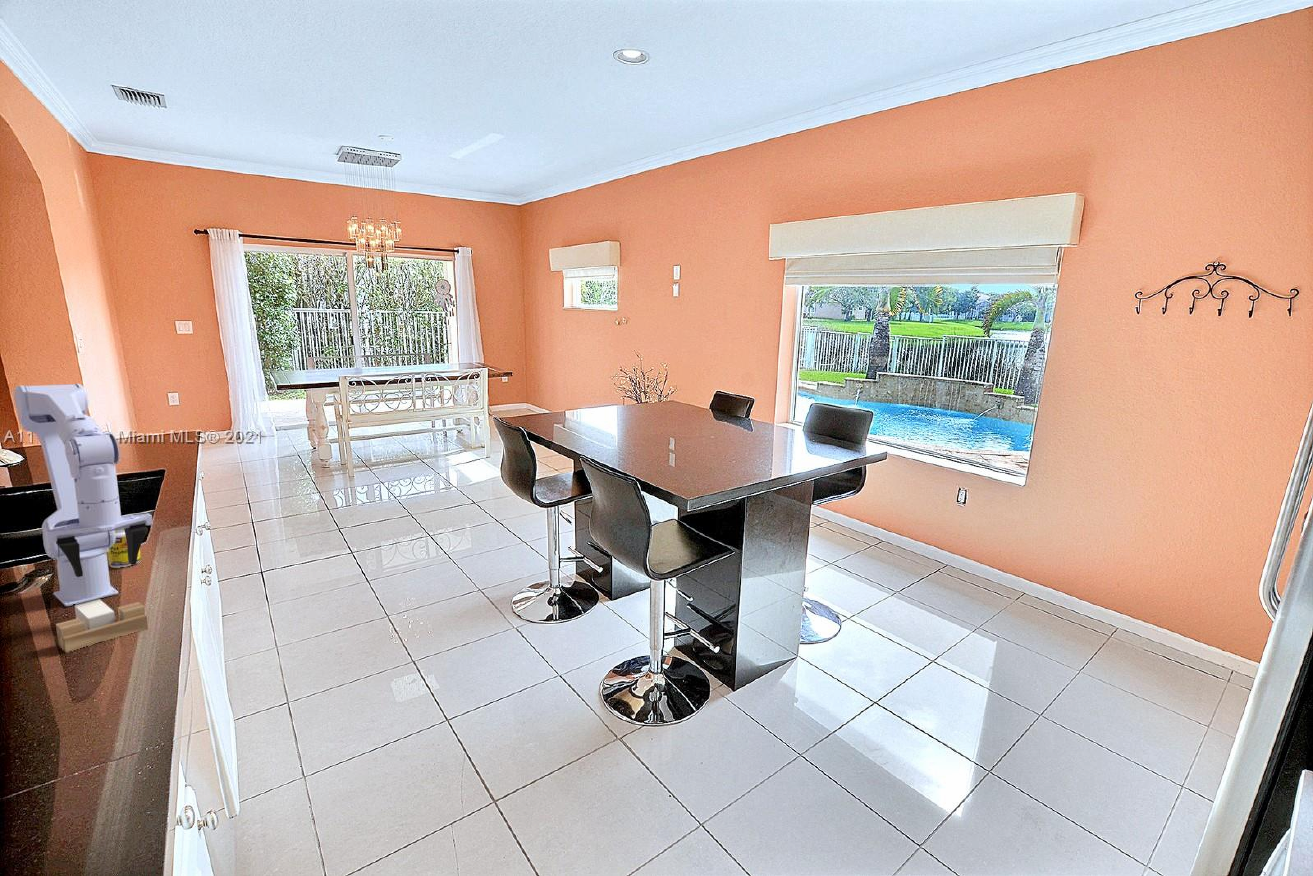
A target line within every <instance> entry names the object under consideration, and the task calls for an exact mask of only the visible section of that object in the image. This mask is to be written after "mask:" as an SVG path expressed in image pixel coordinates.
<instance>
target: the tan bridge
mask: <svg viewBox="0 0 1313 876" xmlns="http://www.w3.org/2000/svg"><path fill="white" fill-rule="evenodd" d="M117 612H118V613H117V614H118V621H116V622H115V623H111V624H108V625H104V626H101V627H97V628H94V629H90V630H87V631H85V623H84V622H83V621H82V620H81V619H80V618H77V619H76V618H74V619H70V620H67V621H61V622H59V623H55V626H56V627H55V628H56V635H57V642H58V646H59V647H60V649H61V648H62V649H61V650H62V651H63V652H65V654H69V653H71V652H70V651H72V652H75V651H78V650H81V649H80V648H82V649H84V648H83V647H85V648H87V647H86V646H88V647H91V645H92V646H94V645H93V644H95V643H98V642H101V641H105V642H108V641H110V639H112V640H115V639H117V637H118V638H120V637H119V636H122V637H124V636H128V634H129V635H132V634H135V633H138V632H141V631H145V630H149V629H148V628H149V627H148V617H147V615H146V613H145V605H143V604H142V603H140V602H133V603H129V604H126V605H122V606H119V607H117ZM134 632H135V633H134ZM131 633H132V634H131ZM114 638H115V639H114ZM107 640H108V641H107ZM98 644H99V643H98ZM95 645H96V644H95ZM77 649H78V650H77ZM74 650H75V651H74Z"/></svg>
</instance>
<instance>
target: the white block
mask: <svg viewBox="0 0 1313 876" xmlns="http://www.w3.org/2000/svg"><path fill="white" fill-rule="evenodd" d="M74 611H75V612H74V613H75V619H77V618H80V619H81V620H82V621H83V622H84V623H85V631H87V630H90V629H94V628H97V627H101V626H104V625H108V624H111V623H115V622H117V621H116V615H115V613H116V612H115V611H114V610H113V609H112V608H111V607H110V606H109V605H107V604H106V603H105V602H103V601H102V599H101V598H99V599H95V600H91V601H87V602H83V603H79V604H75V605H74Z"/></svg>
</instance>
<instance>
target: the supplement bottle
mask: <svg viewBox="0 0 1313 876" xmlns="http://www.w3.org/2000/svg"><path fill="white" fill-rule="evenodd" d="M115 536H116V540H115V543H114V544H113V546H112V547H109V552H107V559H108V566H110V567H111V568H114V569H121V568H120V567H125V568H127V567H126V566H130V565H131V564H130V563H129V561H128V548H127V540H126V535H125V531H124V529H120V530H115ZM140 560H141V561H142V557H141V548H140V549H139V552H138V556H137V563H138V562H139V561H140ZM141 561H140V562H141ZM140 562H139V563H140ZM139 563H138V564H139ZM130 567H131V566H130Z"/></svg>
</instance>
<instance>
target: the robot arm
mask: <svg viewBox="0 0 1313 876" xmlns="http://www.w3.org/2000/svg"><path fill="white" fill-rule="evenodd" d="M13 396H14V397H13V398H14V404H15V408H16V409H15V410H16V412H17V416H18V420H19V424H20V425H21V426H22V427H21V428H22V429H23V431H27V432H30V433H33V434H35V436H36V437H37V440H38V441H39V443H40V445H41V449H42V454H43V457H44V461H45V465H46V469H47V472H48V477H49V481H50V485H51V489H52V493H53V497H54V501H55V505H56V510H55V511H54V512H53V513H51V515H49V516H48V517H47V518H45V519H44V521H43V522H42V525H41V530H42V540H43V547H44V550H45V553H46V555H47V556H48V557H49V558H51V560H52V559H55V560H57V563H56V570H57V577H58V584H59V590H57V591H54V592H53V596H55V598H57V600H59V601H60V602H61V604H63V605H64V607H71V606H74V605H73V604H75V605H79V604H83V603H87V602H91V601H94V600H98V599H102V598H106V597H109V596H111V597H112V596H114V595H118V594H119V591H118V590H117V589H116V588H114V587H113V586H112V585H111V580H110V579H111V578H110V572H109V570H110V569H109V561H108V552H109V547H112V546H113V544H114V543H115V540H116V536H115V530H120V529H124V531H125V535H126V540H127V548H128V561H129V563H130V564H131V565H133V566H135V564H136V565H138V564H137V556H138V552H139V549H140V550H141V545H142V544H143V541H144V539H145V538H146V537H147V534H148V530H149V529H148V527H147V526H152V525H154V523H153V522H154V521H153V515H152V514H150V513H142V514H133V515H132V514H131V515H122V512H121V504H120V503H121V502H120V495H119V487H118V477H117V468H116V465H117V464H118V463H119V461H120V447H119V444H118V441H117V438H116V436H115V434H113V433H112V432H111V433H110V432H103V431H102V429H101V427H100V426H99V424H98V423H97V421H96V420H95V419H94V418H93V417H91V416H89V415H87V413H88V410H89V397H88V393H87V390H86V387H84V386H83V385H82V384H81V383H75V384H49V385H45V384H44V385H43V384H42V385H20V384H19V385H17V386H16V388H14V391H13Z"/></svg>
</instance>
